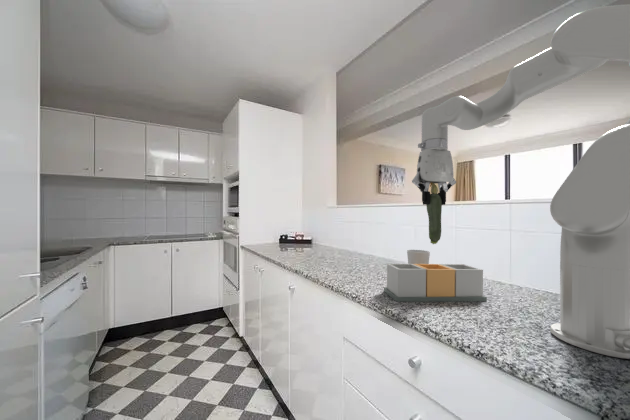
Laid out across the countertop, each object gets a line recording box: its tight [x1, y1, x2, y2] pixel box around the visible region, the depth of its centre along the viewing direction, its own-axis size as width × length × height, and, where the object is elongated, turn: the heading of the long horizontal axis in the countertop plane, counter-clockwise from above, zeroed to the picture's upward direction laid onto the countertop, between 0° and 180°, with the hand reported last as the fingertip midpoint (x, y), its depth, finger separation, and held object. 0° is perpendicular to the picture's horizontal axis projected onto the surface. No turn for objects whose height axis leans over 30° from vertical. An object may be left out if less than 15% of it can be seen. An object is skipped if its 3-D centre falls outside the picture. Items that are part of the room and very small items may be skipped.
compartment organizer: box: [383, 263, 488, 303], centre depth 77 cm, size 10×28×9 cm, turn 95°
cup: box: [406, 249, 431, 264], centre depth 92 cm, size 8×8×12 cm
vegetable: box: [425, 182, 443, 245], centre depth 78 cm, size 4×4×20 cm
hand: (433, 204), depth 78 cm, fingers closed on vegetable, 4 cm apart
